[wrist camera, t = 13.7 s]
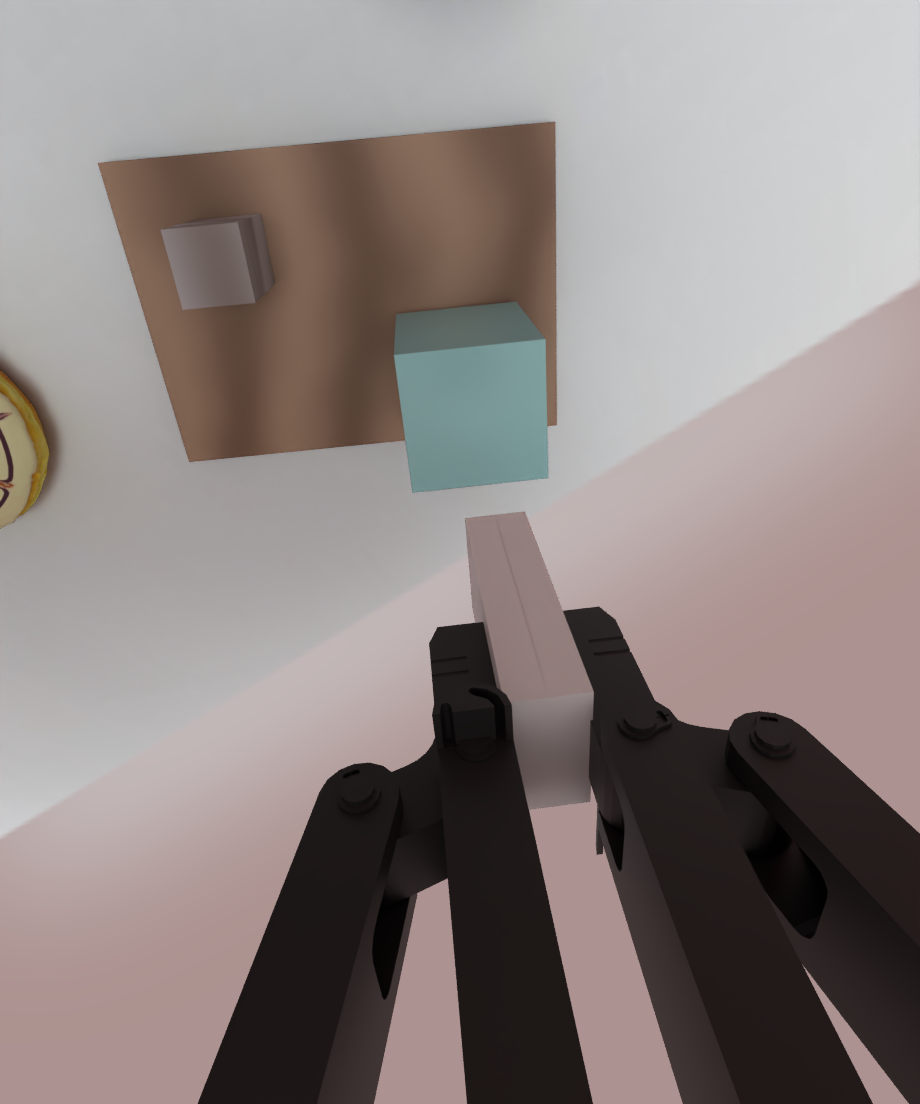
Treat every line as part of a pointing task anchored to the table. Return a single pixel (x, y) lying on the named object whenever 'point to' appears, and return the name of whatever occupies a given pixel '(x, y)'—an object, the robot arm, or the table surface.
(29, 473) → the decorated donut
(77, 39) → the table surface
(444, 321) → the teal rectangular block
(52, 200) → the table surface
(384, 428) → the board
